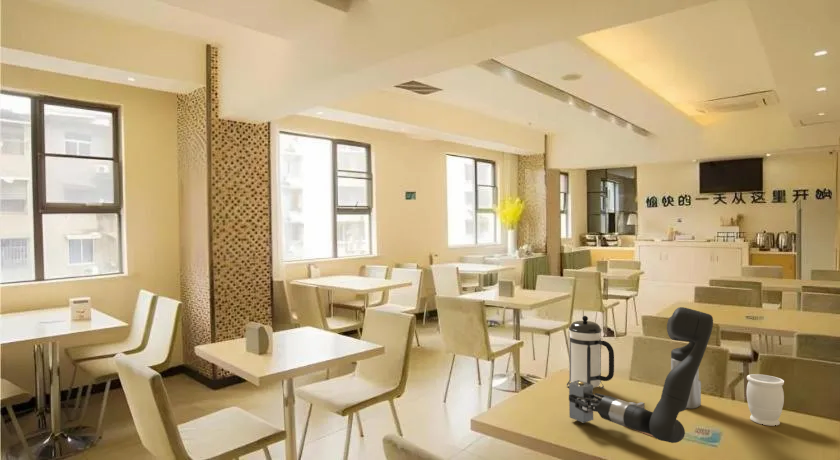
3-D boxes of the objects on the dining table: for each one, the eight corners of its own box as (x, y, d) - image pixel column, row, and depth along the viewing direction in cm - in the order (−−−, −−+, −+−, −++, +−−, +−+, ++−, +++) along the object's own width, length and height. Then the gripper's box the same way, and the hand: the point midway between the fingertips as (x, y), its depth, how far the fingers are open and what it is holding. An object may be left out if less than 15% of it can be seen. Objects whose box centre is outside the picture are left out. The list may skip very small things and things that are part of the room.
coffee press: (569, 393, 200) (569, 319, 200) (564, 380, 216) (564, 312, 215) (614, 395, 197) (614, 320, 197) (606, 382, 213) (606, 313, 212)
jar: (779, 418, 174) (780, 375, 174) (787, 429, 165) (787, 384, 164) (743, 413, 179) (744, 372, 178) (749, 424, 169) (749, 380, 169)
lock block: (579, 414, 176) (578, 378, 175) (593, 419, 171) (592, 383, 170) (569, 417, 173) (569, 381, 173) (583, 423, 168) (583, 386, 168)
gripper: (631, 395, 163) (588, 381, 178) (603, 404, 156) (560, 389, 170) (631, 417, 163) (588, 402, 178) (603, 428, 156) (560, 411, 170)
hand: (575, 396), depth 174 cm, fingers closed on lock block, 5 cm apart
